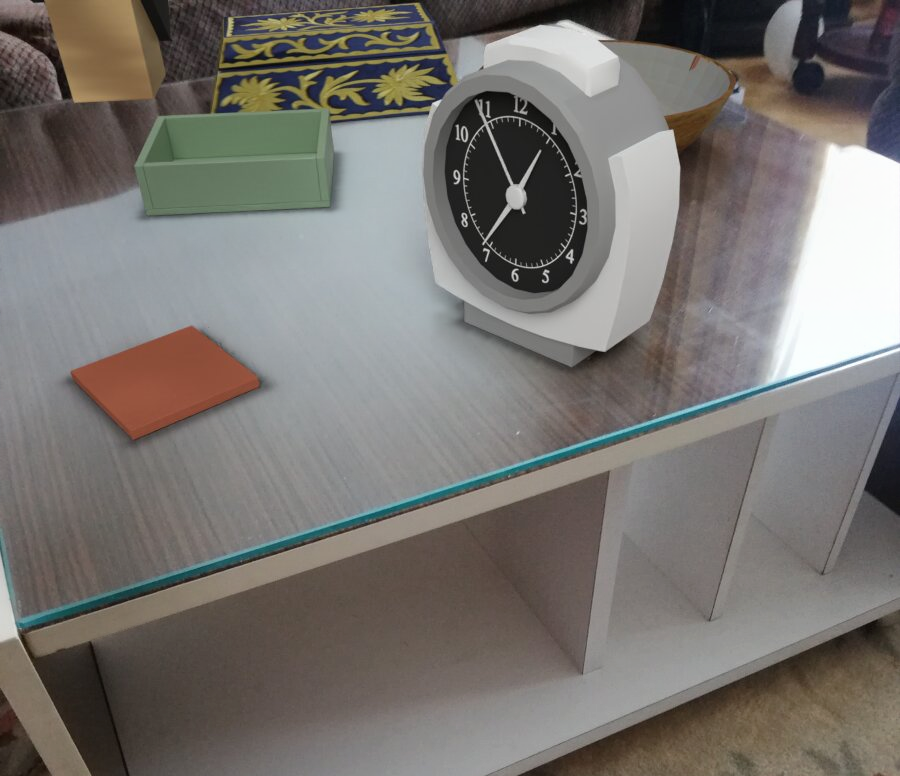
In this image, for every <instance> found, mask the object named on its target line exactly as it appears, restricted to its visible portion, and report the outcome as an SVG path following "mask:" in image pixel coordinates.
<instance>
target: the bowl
mask: <svg viewBox="0 0 900 776" xmlns="http://www.w3.org/2000/svg"><path fill="white" fill-rule="evenodd" d="M597 40H598V41H599V42H601V43H602V44H603V45H604V46H605V47H607V48H608V49H609V50H611V51H613V52H615V53H616V54H618V55H619V56H620V57H621V58H622V59H624V60H625V61H626V62H627V63H629V64H630V65H631V66H632V67H633V68H635V69H636V70H637V71H638V72H639V74H640V75H641V77H642V78H643V79H644V81H645V82H646V84H647V85H648V86H649V88H650V89H651V90H652V92H653V93H654V95H655V96H656V98H657V101H658V103H659V105H660V108H661V110H662V113H663V115H664V118H665V120H666V122H667V125H668V127H669V130H673V132H674V138H675V143H676V148H677V153H678V155H680V154H681V153H683V151H685V150H686V149H687V148H688V147H690V145H692V144H693V143H694V142H695V141H696V140H698V138H699V137H700V136H701V135H702V134H703V133H704V132H705V131H706V130H707V128H708V127H709V126H711V124H712V123H713V122H714V121H715V119H716V118H717V116H719V114H720V112H721V111H722V110H723V108H724V107H725V105H726V104H727V102H728V101H729V99H730V97H731V96H732V94H733V92H734V90H735V87H736V84H737V81H736V78H735V75H734V73H732V71H731V70H730V69H729V68H728V67H727V66H725V65H724V64H722V63H721V62H719V61H717V60H716V59H713V58H711V57H708V56H705V55H704V54H700V53H698V52H695V51H692V50H688V49H684V48H681V47H676V46H671V45H666V44H661V43H654V42H653V43H652V42H646V41H635V40H620V39H597ZM482 69H484V64H483V65H482V66H481V67H480V68H479V69H478V70H477V71H479V70H482Z"/></svg>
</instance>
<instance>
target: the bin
mask: <svg viewBox="0 0 900 776" xmlns="http://www.w3.org/2000/svg"><path fill="white" fill-rule="evenodd" d="M334 162H335V150H334V140H333V131H332V122H331V120H330V111H329V109H305V110H283V111H260V112H238V113H216V114H210V113H198V114H197V113H196V114H173V115H158V116H157V118H156V119H155V121H154V124H153V126H152V127H151V130H150V132H149V135H148V136H147V138H146V141H145V143H144V145H143V147H142V149H141V151H140V153H139V155H138V157H137V159H136V162H135V163H134V165H133V168H134V172H135V176H136V179H137V183H138V187H139V191H140V194H141V199H142V202H143V206H144V209H145V213H146V216H169V215H170V216H171V215H188V214H189V215H191V214H211V213H231V212H232V213H233V212H251V211H255V212H256V211H274V210H276V211H277V210H293V209H294V210H297V209H315V208H330V207H331V201H332V199H331V198H332V189H333V188H332V187H333V175H334Z"/></svg>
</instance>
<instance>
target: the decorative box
mask: <svg viewBox="0 0 900 776" xmlns="http://www.w3.org/2000/svg"><path fill="white" fill-rule="evenodd" d="M216 59H217V60H216V66H215V73H214V78H213V79H214V80H213V86H212V92H211V97H210V98H211V99H210V105H209V106H210V107H209V114H216V113H238V112H260V111H283V110H305V109H329V111H330V120H331V123H339V122H340V123H341V122H352V121H353V122H354V121H361V120H374V119H385V118H386V119H387V118H397V117H406V116H407V117H408V116H417V115H429V113H430V109H431V106H432V103H434V102H436V101H439V100H441V99H442V98H443V97H444V95H445V93H446V92H447V91H448V90H449V89H450V88H452V87H453V86H454V85H455V84H456V83H457V82H458V81H459V80H458V78H457V75H456V73H455V70H454V67H453V66H452V65H453V64H452V62H451V59H450V58H449V54H448V52H447V50H446V47H445V44H444V42H443V39H442V37H441V34H440V31H439V30H438V26H437V24H436V21H435V19H434V18H433V17H432V15H431V14H430V12H429V11H428V10H427V8H426V7H425V6H424V4H423V3H422V1H418V2H404V3H403V2H402V3H390V4H378V5H377V4H376V5H365V6H364V5H363V6H351V7H336V8H323V9H311V10H310V9H309V10H298V11H297V10H296V11H286V12H285V11H283V12H271V13H259V14H246V15H244V14H243V15H231V16H223V20H222V28H221V34H220V40H219V47H218V52H217V58H216Z"/></svg>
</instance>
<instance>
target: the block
mask: <svg viewBox="0 0 900 776" xmlns="http://www.w3.org/2000/svg"><path fill="white" fill-rule="evenodd" d="M44 1H45V4H44V6H45V9H46V11H47V14H48V19H49V22H50V25H51V29H52V32H53V36H54V39H55V42H56V46H57V49H58V52H59V56H60V60H61V63H62V67H63V71H64V74H65V76H66V80H67V83H68V84H67V85H68V87H69V91H70V93H71V98H72V100H73V103H74V104H80V103H81V104H82V103H99V102H100V103H101V102H102V103H103V102H104V103H105V102H118V101H119V102H125V101H144V100H145V101H146V100H155V99H156V98H155V97H156V96H157V94H158V91H159V90H160V87H161V85H162V84H163V81H164V79H165V77H166V75H167V74H166V69H165V65H164V59H163V55H162V50H161V46H160V41H159V39H158V37H157V35H156V32H155V30H154V28H153V26H152V24H151V22H150V20H149V18H148V16H147V14H146V11H145V9H144V7H143V5H142V3H141V1H140V0H44Z"/></svg>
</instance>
